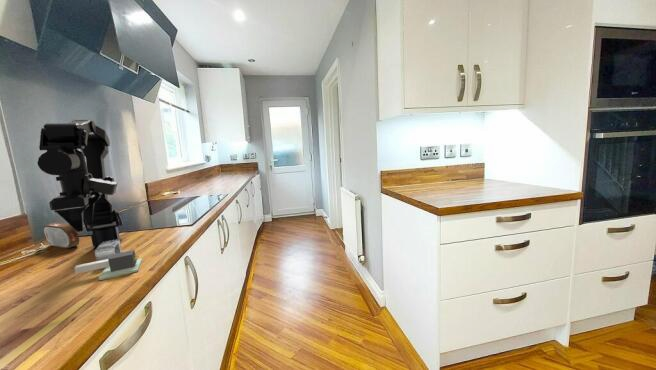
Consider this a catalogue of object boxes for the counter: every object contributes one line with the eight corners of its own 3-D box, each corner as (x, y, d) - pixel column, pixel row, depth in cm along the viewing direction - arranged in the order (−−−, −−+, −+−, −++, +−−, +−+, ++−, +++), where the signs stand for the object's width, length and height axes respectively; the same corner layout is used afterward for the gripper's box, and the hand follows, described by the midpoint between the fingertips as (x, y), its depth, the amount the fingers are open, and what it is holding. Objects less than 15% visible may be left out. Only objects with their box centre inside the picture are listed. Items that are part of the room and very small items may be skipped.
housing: (122, 253, 80) (119, 238, 79) (116, 263, 73) (112, 247, 72) (105, 256, 78) (102, 241, 77) (97, 267, 71) (94, 250, 70)
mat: (142, 260, 74) (142, 258, 74) (137, 271, 68) (137, 269, 67) (107, 267, 71) (107, 265, 71) (99, 280, 64) (98, 278, 64)
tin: (82, 246, 88) (77, 223, 86) (70, 250, 85) (65, 226, 83) (56, 243, 93) (51, 221, 91) (44, 246, 90) (39, 223, 88)
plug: (140, 261, 72) (137, 249, 72) (137, 266, 69) (135, 253, 69) (80, 273, 66) (77, 260, 66) (75, 279, 63) (72, 266, 63)
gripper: (103, 171, 64) (115, 230, 67) (117, 165, 80) (126, 213, 83) (41, 176, 59) (57, 239, 61) (69, 169, 74) (81, 220, 77)
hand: (85, 226), depth 71 cm, fingers open, 9 cm apart
